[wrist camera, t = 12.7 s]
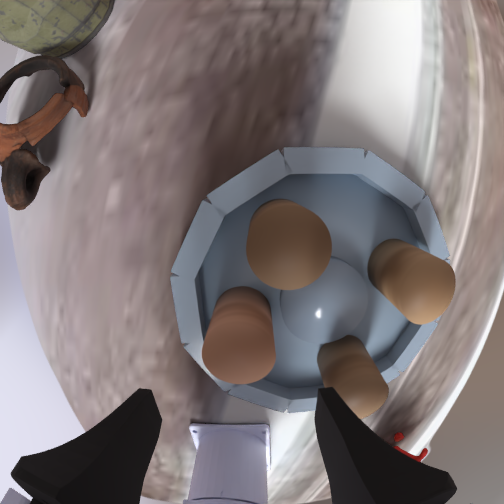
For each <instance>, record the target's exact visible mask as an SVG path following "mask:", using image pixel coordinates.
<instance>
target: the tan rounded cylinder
mask: <svg viewBox="0 0 504 504" xmlns="http://www.w3.org/2000/svg"><path fill="white" fill-rule="evenodd" d="M317 364H318V367H319V371H320V374H321V377H322V380H323V384H324V387H325V388H326V387H333V388H334V389H335V390H336V391H337V393H338V394H339V395H340V397H341V398H342V399H343V400H344V402H345V403H346V404H347V405H348V406H349V408H350V409H351V410H352V411H353V412H354V413H355V414H356V415H357V416H358V417H359V418H360V419H362V418H364V417H367V416H369V415H371V414H372V413H374V412H375V411H377V410H378V409H379V408H380V407H381V406H382V405H383V404H384V402H385V401H386V399H387V397H388V393H389V388H388V385H387V383H386V382H385V380H384V378H383V377H382V375H381V373H380V371H379V370H378V368H377V366H376V365H375V363H374V361H373V360H372V358H371V356H370V355H369V353H368V351H367V350H366V348H365V346H364V345H363V343H362V341H361V340H360V339H359V338H357V337H355V336H353V335H346V336H345V337H343V338H341V339H339V340H336V341H333V342H330V343H325V344H324V345H323V346H322V347H321V349H320V350H319V352H318V355H317Z"/></svg>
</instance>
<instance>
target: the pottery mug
mask: <svg viewBox="0 0 504 504" xmlns="http://www.w3.org/2000/svg"><path fill="white" fill-rule="evenodd" d="M47 69H52V70H54V71H56V72H57V73H58V74H59V82H60V84H61V85H62V86H63V87H65V90H64V94H62V93H55V94H54V95H53V96H52V98H51V99H50V100H49V101H48V102H47V103H46V105H45V106H44V107H43V108H42V109H41V110H39V111H38V112H37V113H35V114H34V115H32V116H31V117H29V118H27V119H25V120H23V121H21V122H19V123H18V124H2V123H0V165H1V166H2V177H1V182H2V187H3V192H4V195H5V200H6V202H7V204H9V205H10V206H11V207H12V208H14V209H16V210H23V209H25V208H26V207H27V206H28V205H30V204H31V203H32V201H33V200H34V199H35V197H36V195H37V192H38V190H39V186H40V183H41V181H42V180H43V178H44V177H45V176H46V175H47V174H48V173H49V172H50V168H49V167H48V166H44V165H43V164H41V163H40V162H39V160H38V158H37V156H36V155H35V154H33V153H32V152H31V151H29V150H27V149H20V147H21V146H22V144H24V143H25V142H26V141H28V142H29V143H30V144H31V146H34V145H35V144H37V143H38V141H40V140H41V139H42V138H43V137H44V136H45V135H47V134H48V133H49V132H50V131H51V130H52V129H53V128H54V126H55V125H56V124H57V123H58V122H60V121H61V120H62V119H63V118H64V117H65V116H66V115H67V113H68V112H69V111H70V109H71V108H72V107H74V108H75V109H77V111H78V112H79V114H80V116H81V117H86V115H87V112H88V106H89V103H88V100H87V95H86V94H85V92H84V89H85V88H84V84H83V83H82V81H81V80H80V79H79V78H78V76H77V75H76V74H75V73H74V72H73V71H72V70H71V69H69V68H68V66H67V65H66V63H65V62H64V61H63V60H62V59H60V58H57V57H52V56H48V55H44V56H36V57H32V58H29V59H27V60H24V61H22V62H20V63H19V64H18V65H16V66H14V67H13V68H11V69H10V70H9V71H7V72H6V73H5V74H4V75H3V76H2V77H1V79H0V103H1V101H2V100H3V98H4V96H5V94H6V92H7V91H8V89H9V88H10V87H11V85H12V84H13V82H14V81H15V80H16V79H18V78H20V77H23V76H28V77H29V76H31V75H32V74H33V73H34V72H37V71H39V70H47Z"/></svg>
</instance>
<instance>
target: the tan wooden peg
mask: <svg viewBox="0 0 504 504" xmlns="http://www.w3.org/2000/svg"><path fill="white" fill-rule="evenodd" d="M331 253H332V241H331V236H330V233H329V230H328V228H327V226H326V225H325V223H324V222H323V221H322V219H321V218H320V217H319V216H318V215H316V214H315V213H314V212H312V211H310V210H308V209H306V208H305V207H303V206H301V205H299V204H297V203H295V202H293V201H291V200H287V199H273V200H269V201H267V202H265V203H263V204H262V205H261V206H259V207H258V208H257V210H256V211H255V212H254V214H253V216H252V218H251V220H250V225H249V231H248V237H247V243H246V255H247V260H248V263H249V265H250V267H251V269H252V271H253V272H254V274H255V275H256V276H257V277H258V278H259V279H260V280H261V281H262V282H264V283H265V284H267V285H269V286H271V287H273V288H276V289H281V290H295V289H299V288H303V287H305V286H307V285H309V284H311V283H313V282H314V281H315V280H317V279H318V278H319V277H320V276H321V275H322V273H323V272H324V271H325V269H326V267H327V266H328V263H329V261H330V258H331Z"/></svg>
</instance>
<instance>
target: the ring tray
mask: <svg viewBox="0 0 504 504" xmlns="http://www.w3.org/2000/svg"><path fill="white" fill-rule="evenodd" d="M281 152H282V154H281V153H280V151H279V150H278V149H277V150H276V151H274V152H272V153H271V154H269V155H268V156H266V157H264V158H263V159H261V160H260V161H258V162H256V163H255V164H253V165H252V166H250V167H249V168H247V169H245V170H244V171H242V172H241V173H239V174H238V175H236V176H235V177H233V178H232V179H230V180H229V181H227V182H226V183H224V184H223V185H221V186H220V187H218V188H217V189H215V190H214V191H212V192H211V193H209V194H208V195H206V196H207V197H208V199H204V200H202V202H201V204H200V207H199V209H198V211H197V213H196V215H195V217H194V220H193V222H192V224H191V226H190V228H189V231H188V233H187V235H186V237H185V239H184V242H183V244H182V246H181V249H180V251H179V253H178V256H177V258H176V260H175V263H174V265H173V267H172V270H171V272H172V273H173V274H172V275H171V276H170V280H171V286H172V293H173V299H174V305H175V311H176V317H177V322H178V327H179V333H180V338H181V343H185V345H184V348H185V349H186V351H187V352H188V353H189V354H190V355H191V356H192V357H193V358H194V360H195V361H196V362H197V363H198V364H199V365H200V366H201V367H202V368H203V370H204V371H205V372H206V373H207V374H208V375H209V376H210V377H211V378H212V379H213V380H214V381H215V382H216V384H217V385H218V386H219V387H220V388H221V389H222V390H223V391H224V392H225V391H228V394H229V395H232V396H235V397H237V398H240V399H243V400H246V401H249V402H252V403H255V404H258V405H261V406H264V407H267V408H270V409H273V410H276V411H280V412H283V413H284V411H285V410H286V409H287V413H294V412H305V411H314V410H316V403H317V394H318V388H325V387H324V384H323V380H322V377H321V374H320V371H319V367H318V364H317V355H318V352H319V350H320V349H321V347H322V346H323V345H324V344H325V343H330V342H333V341H336V340H339V339H341V338H343V337H345V336H346V335H353V336H355V337H357V338H359V339H360V340H361V341H362V343H363V345H364V346H365V348H366V350H367V351H368V353H369V355H370V356H371V358H372V360H373V361H374V363H375V365H376V366H377V368H378V370H379V371H380V373H381V375H382V377H383V378H384V380H385V382H386V383H388V382H390V381H391V380H393V379H395V378H396V377H398V376H399V375H400V373H399V371H401V372H404V370H405V369H406V368H407V367H408V365H409V364H410V363H411V361H412V360H413V359H414V357H415V356H416V355H417V353H418V352H419V351H420V349H421V348H422V347H423V345H424V344H425V342H426V341H427V339H428V338H429V336H430V335H431V334H432V332H433V331H434V329H435V328H436V326H437V324H438V323H437V322H436V320H440V316H441V315H440V316H439V317H438V318H437V319H435V320H434V321H432V322H430V323H427V324H422V325H420V324H414V323H412V322H410V321H409V320H408V319H407V318H406V317H405V316H404V315H403V314H402V313H401V312H400V311H399V310H398V309H397V308H396V307H395V306H394V305H393V304H392V303H391V302H390V301H389V300H388V299H387V298H386V297H385V296H384V295H383V294H382V293H381V292H380V291H379V290H378V289H376V288H375V287H374V286H373V285H372V283H371V282H370V280H369V277H368V273H367V265H368V260H369V257H370V255H371V253H372V252H373V250H374V249H375V248H376V247H377V246H378V245H379V244H380V243H381V242H383V241H385V240H388V239H400V240H402V241H405V242H407V243H409V244H411V245H413V246H415V247H417V248H420V249H422V250H424V251H426V252H428V253H430V254H432V255H434V256H436V257H438V258H440V259H442V260H444V261H446V262H447V263H449V264H450V259H447V257H449V256H450V255H449V251H448V248H447V245H446V242H445V239H444V236H443V233H442V230H441V227H440V225H439V222H438V219H437V216H436V214H435V211H434V209H433V206H432V204H431V201H430V199H429V196H428V195H424V194H425V191H424V190H423V189H421V188H420V187H419V186H418V185H416V184H415V183H414V182H412V181H411V180H410V179H409V178H407V177H406V176H405V175H403V174H402V173H401V172H399V171H398V170H396V169H395V168H394V167H392V166H391V165H390V164H388V163H387V162H385V161H384V160H382V159H381V158H380V157H378V156H377V155H375V154H374V153H372V152H371V151H369V150H368V151H364V149H362V148H337V147H284V148H283V149H282V150H281ZM273 199H287V200H291V201H293V202H295V203H297V204H299V205H301V206H303V207H305V208H306V209H308V210H310V211H312V212H314V213H315V214H316V215H318V216H319V217H320V218H321V219H322V221H323V222H324V223H325V225H326V226H327V228H328V230H329V233H330V236H331V241H332V253H331V258H330V261H329V263H328V266H327V267H326V269H325V271H324V272H323V273H322V275H321V276H320V277H319V278H318V279H317V280H315V281H314V282H313V283H311V284H309V285H307V286H305V287H303V288H299V289H295V290H281V289H276V288H273V287H271V286H269V285H267V284H265V283H264V282H262V281H261V280H260V279H259V278H258V277H257V276H256V275H255V274H254V272H253V271H252V269H251V267H250V265H249V263H248V260H247V255H246V243H247V237H248V231H249V225H250V220H251V218H252V216H253V214H254V212H255V211H256V210H257V208H258V207H259V206H261V205H262V204H263V203H265V202H267V201H269V200H273ZM239 286H246V287H251V288H254V289H256V290H258V291H260V292H261V293H262V294H263V295H264V296H265V297H266V298H267V300H268V301H269V304H270V307H271V315H272V324H273V333H274V342H275V351H276V360H275V364H274V366H273V368H272V370H271V371H270V372H269V373H268V374H267V375H266V376H265V377H264V378H262V379H260V380H258V381H256V382H253V383H249V384H232V383H228V382H225V381H222V380H220V379H218V378H217V377H215V376H214V375H212V374H211V373H210V372H209V371H208V369H207V368H206V366H205V365H204V363H203V360H202V347H203V343H204V340H205V337H206V334H207V330H208V327H209V324H210V321H211V317H212V314H213V311H214V308H215V305H216V302H217V300H218V298H219V297H220V296H221V295H222V294H223V293H224V292H225V291H227V290H228V289H231V288H233V287H239ZM398 370H399V371H398Z"/></svg>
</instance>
